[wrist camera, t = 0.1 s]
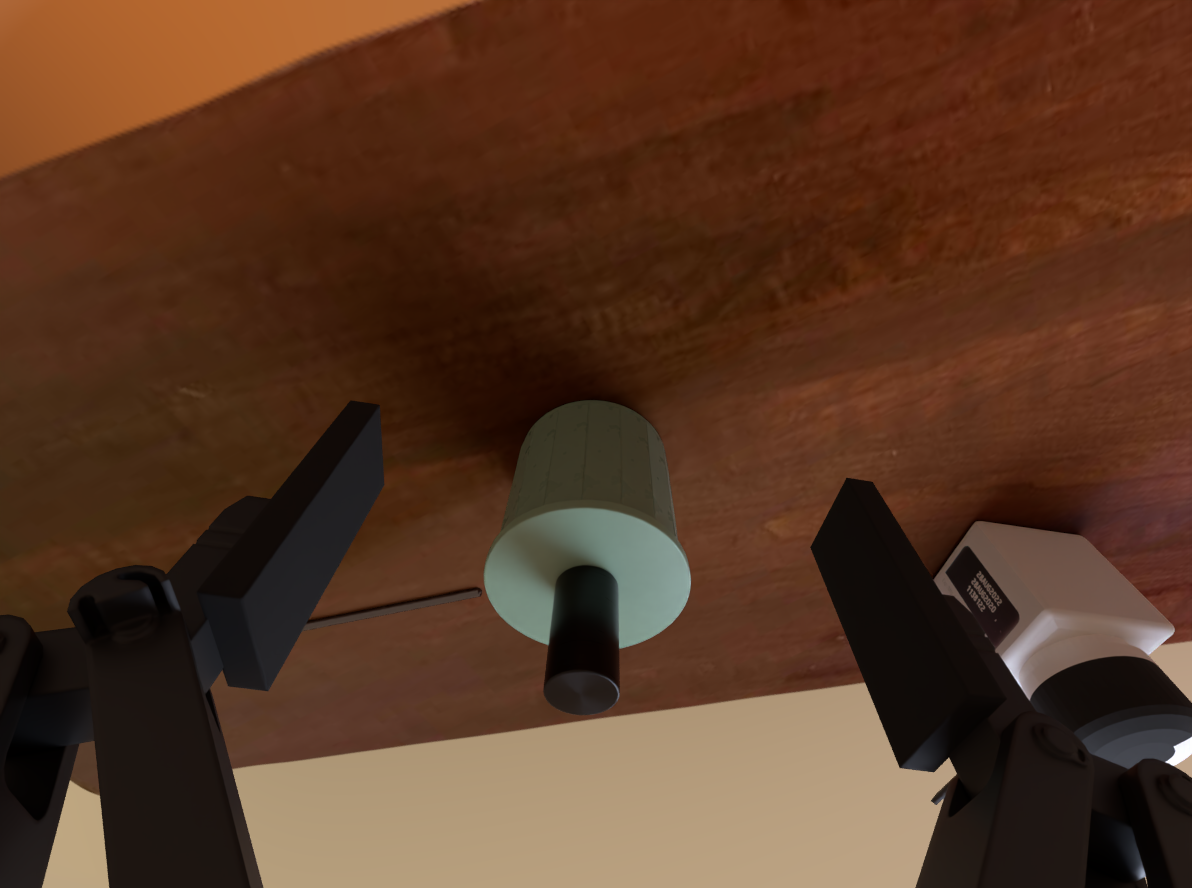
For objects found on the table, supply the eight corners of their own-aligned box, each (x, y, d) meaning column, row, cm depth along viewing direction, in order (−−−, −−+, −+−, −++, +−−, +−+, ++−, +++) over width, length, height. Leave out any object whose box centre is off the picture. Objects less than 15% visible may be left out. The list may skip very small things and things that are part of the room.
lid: (493, 476, 25) (458, 595, 19) (711, 505, 25) (739, 629, 20) (484, 620, 30) (454, 746, 24) (663, 642, 31) (674, 769, 25)
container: (917, 596, 41) (1027, 786, 30) (974, 517, 37) (1125, 705, 26) (1017, 610, 41) (1159, 801, 31) (1084, 533, 37) (1277, 723, 26)
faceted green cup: (527, 389, 32) (499, 492, 24) (680, 411, 33) (702, 520, 25) (516, 507, 37) (489, 626, 29) (649, 525, 38) (658, 646, 30)
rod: (484, 590, 42) (482, 598, 42) (268, 633, 46) (264, 640, 45) (480, 584, 42) (479, 591, 41) (263, 627, 45) (258, 635, 45)
